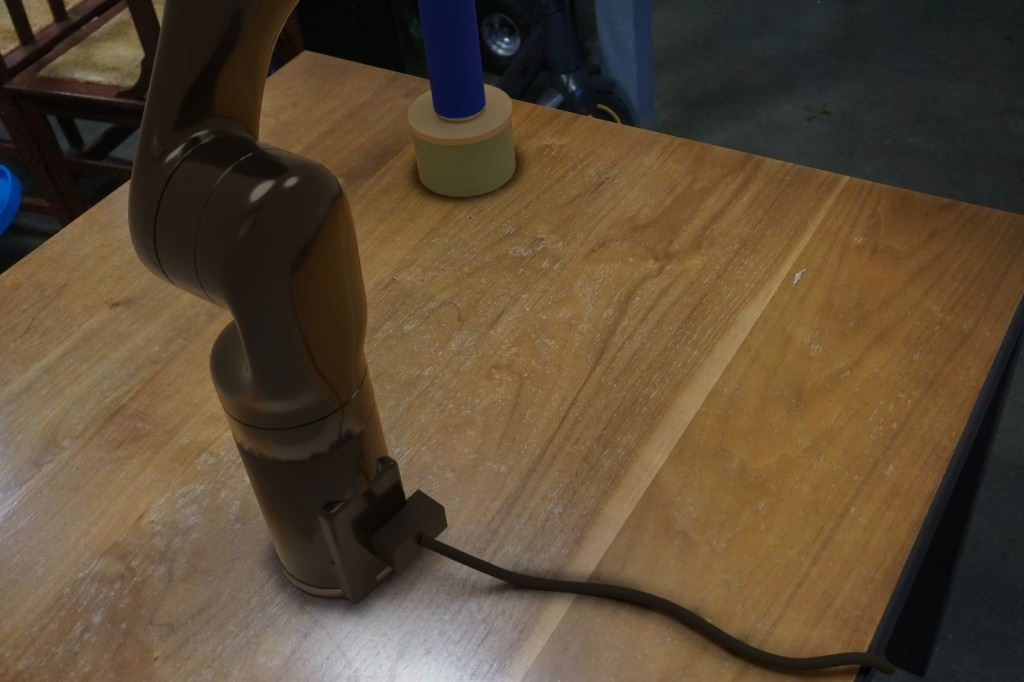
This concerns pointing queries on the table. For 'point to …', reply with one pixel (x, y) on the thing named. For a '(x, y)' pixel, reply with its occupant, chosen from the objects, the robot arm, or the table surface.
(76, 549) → the table surface
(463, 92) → the beverage can
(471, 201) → the table surface
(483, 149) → the cookie tin
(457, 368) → the table surface
